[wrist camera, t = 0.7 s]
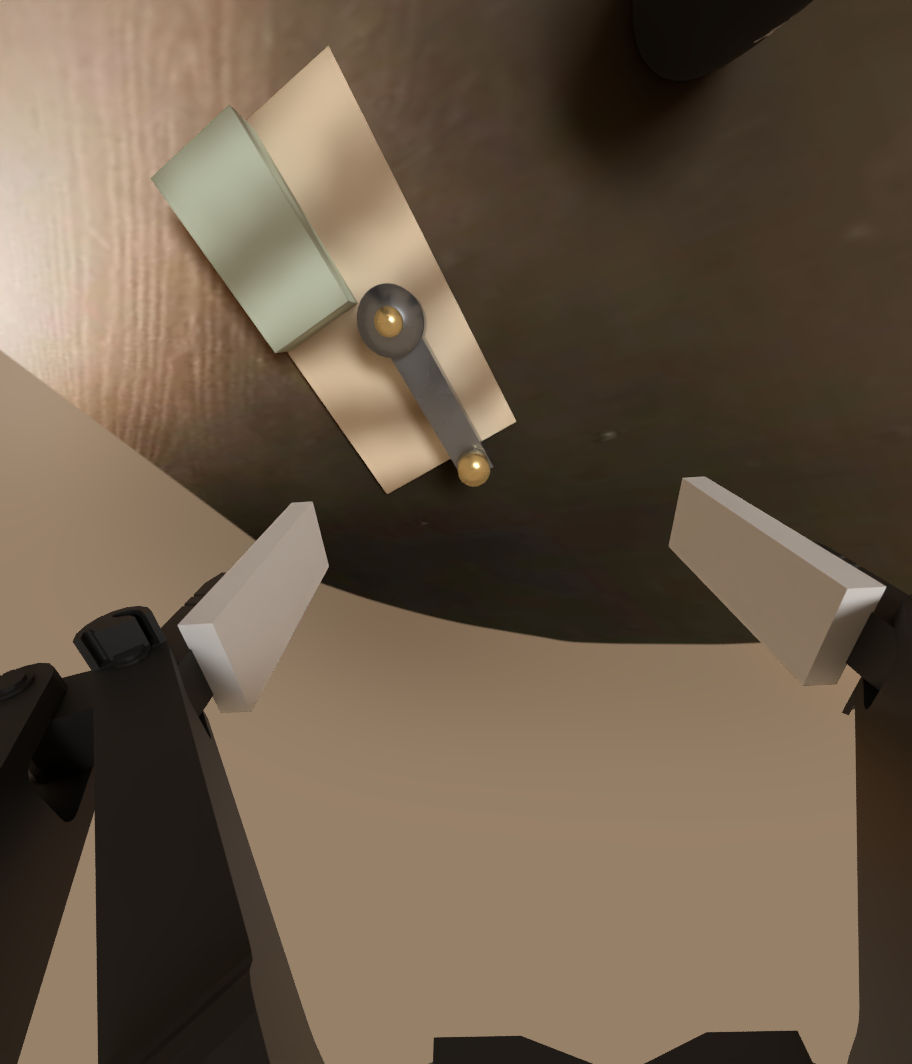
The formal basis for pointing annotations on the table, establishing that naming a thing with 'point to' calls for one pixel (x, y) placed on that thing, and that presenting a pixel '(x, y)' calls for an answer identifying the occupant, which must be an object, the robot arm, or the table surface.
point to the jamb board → (367, 262)
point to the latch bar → (422, 374)
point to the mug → (704, 32)
